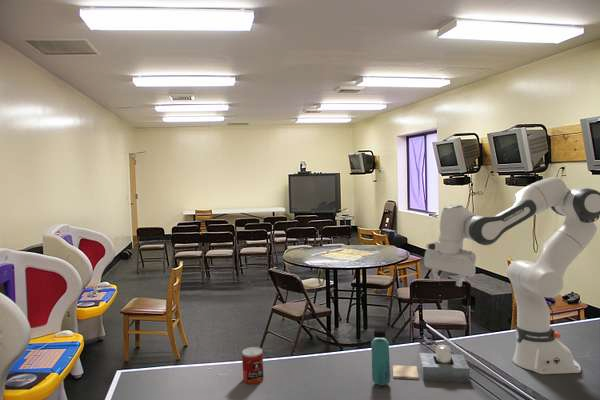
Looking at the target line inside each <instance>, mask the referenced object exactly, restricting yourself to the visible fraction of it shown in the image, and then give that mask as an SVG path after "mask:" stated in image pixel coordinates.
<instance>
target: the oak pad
mask: <svg viewBox="0 0 600 400" xmlns="http://www.w3.org/2000/svg"><path fill="white" fill-rule="evenodd" d="M392 374H393V379H405V380H408V379H409V380H420V377H419V373H418V367H417V365H399V364H398V365H395V364H393V365H392Z"/></svg>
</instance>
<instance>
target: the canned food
mask: <svg viewBox="0 0 600 400" xmlns="http://www.w3.org/2000/svg"><path fill="white" fill-rule="evenodd" d="M241 354H242V355H241V359H242V361H241V362H242V378H243V382H244V383H246V384H248V385H257V384H260V383H261V382H263V380H264V376H265V375H264V353H263V349H262V348H261V347H257V346H250V347H247V348H246V347H245V348H244V349H243V350H241Z"/></svg>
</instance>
